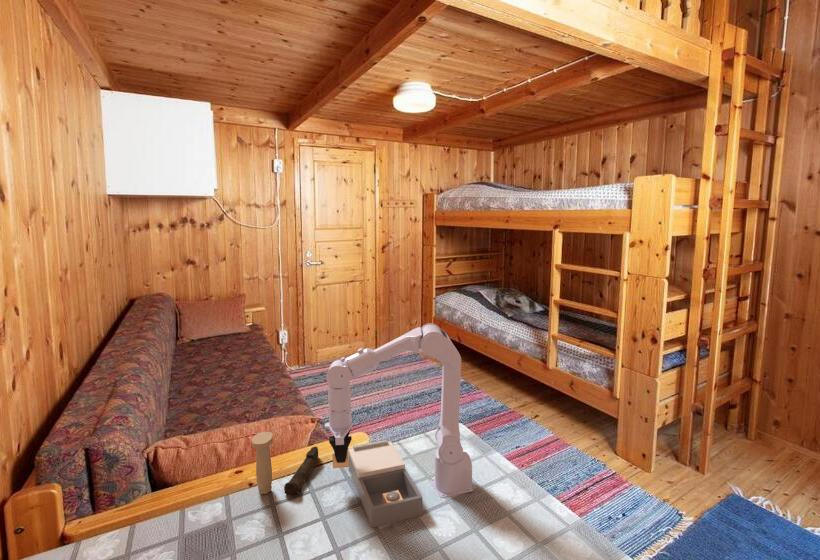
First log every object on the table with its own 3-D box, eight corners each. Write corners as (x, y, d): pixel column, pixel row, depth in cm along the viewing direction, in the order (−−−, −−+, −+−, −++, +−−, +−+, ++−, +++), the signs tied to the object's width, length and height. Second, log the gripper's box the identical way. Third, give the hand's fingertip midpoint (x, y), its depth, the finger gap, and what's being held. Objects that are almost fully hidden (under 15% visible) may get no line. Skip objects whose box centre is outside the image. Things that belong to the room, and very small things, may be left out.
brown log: (298, 498, 110) (297, 482, 109) (283, 496, 111) (283, 480, 110) (326, 459, 128) (326, 444, 128) (313, 457, 129) (313, 443, 128)
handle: (252, 499, 109) (249, 444, 107) (259, 484, 115) (256, 432, 113) (271, 498, 110) (268, 443, 107) (277, 483, 116) (274, 431, 114)
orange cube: (348, 458, 114) (348, 443, 114) (348, 467, 110) (348, 451, 110) (333, 459, 114) (333, 444, 113) (332, 468, 110) (332, 452, 109)
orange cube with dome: (398, 505, 106) (398, 489, 106) (403, 515, 102) (403, 498, 102) (382, 508, 105) (382, 492, 104) (387, 519, 101) (387, 502, 100)
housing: (390, 461, 126) (390, 445, 126) (422, 516, 103) (422, 497, 102) (348, 469, 122) (348, 452, 122) (371, 529, 98) (371, 509, 98)
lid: (390, 445, 125) (390, 438, 125) (405, 468, 114) (405, 461, 113) (348, 453, 121) (348, 446, 121) (358, 478, 109) (358, 470, 109)
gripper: (326, 397, 116) (327, 443, 118) (322, 421, 102) (323, 474, 104) (352, 395, 117) (353, 442, 119) (351, 419, 103) (353, 471, 105)
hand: (341, 456), depth 112 cm, fingers closed on orange cube, 4 cm apart
